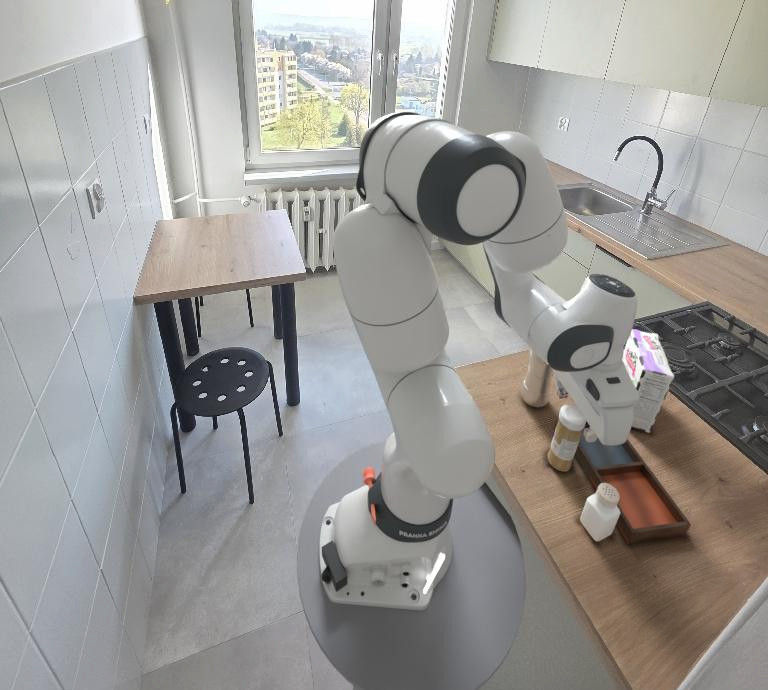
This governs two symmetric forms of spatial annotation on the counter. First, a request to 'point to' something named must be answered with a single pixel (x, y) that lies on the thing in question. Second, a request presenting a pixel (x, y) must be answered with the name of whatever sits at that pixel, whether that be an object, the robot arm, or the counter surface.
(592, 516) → the pepper shaker
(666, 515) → the tray
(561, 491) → the counter surface
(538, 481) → the counter surface
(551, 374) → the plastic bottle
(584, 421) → the sprinkles bottle
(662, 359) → the candy box
